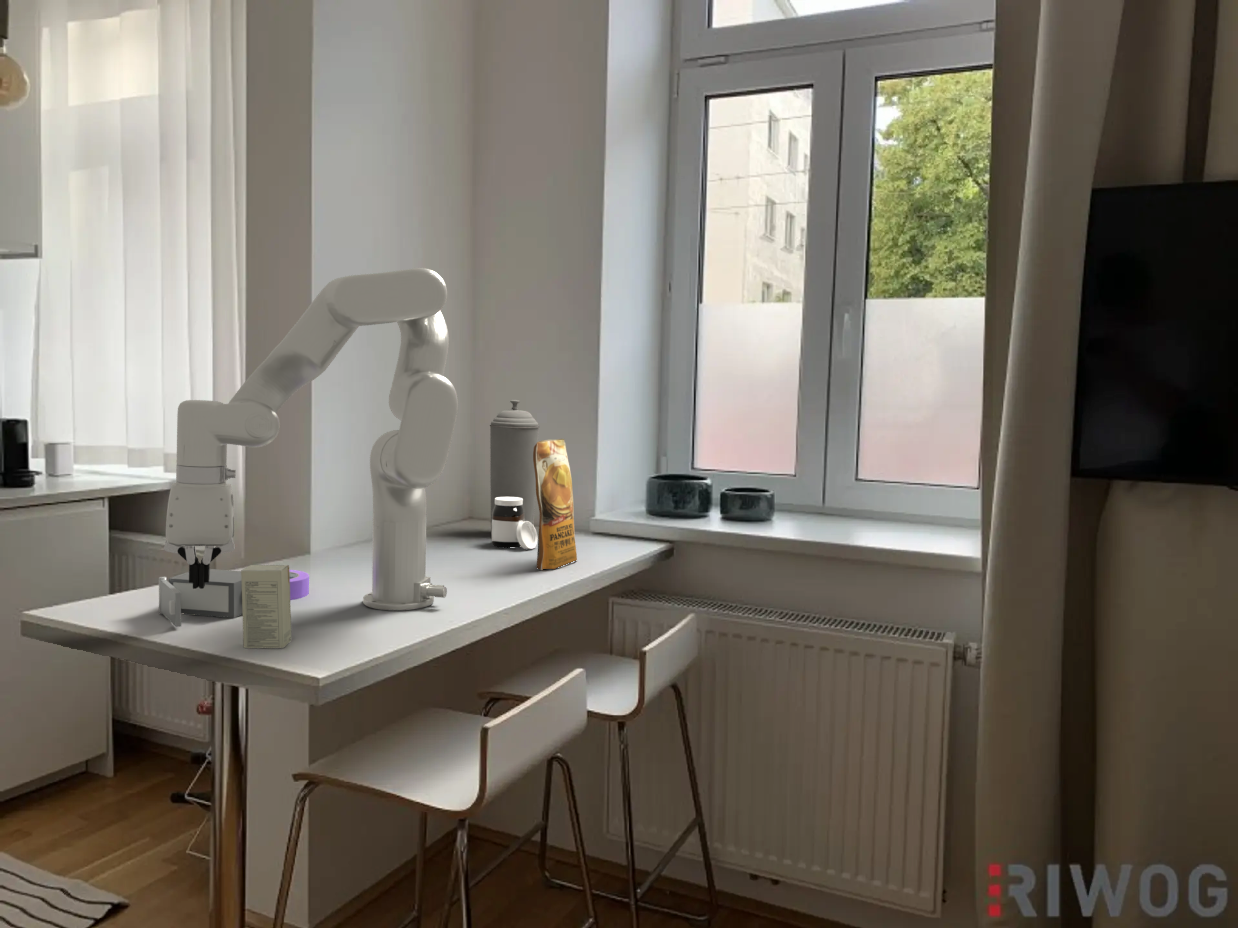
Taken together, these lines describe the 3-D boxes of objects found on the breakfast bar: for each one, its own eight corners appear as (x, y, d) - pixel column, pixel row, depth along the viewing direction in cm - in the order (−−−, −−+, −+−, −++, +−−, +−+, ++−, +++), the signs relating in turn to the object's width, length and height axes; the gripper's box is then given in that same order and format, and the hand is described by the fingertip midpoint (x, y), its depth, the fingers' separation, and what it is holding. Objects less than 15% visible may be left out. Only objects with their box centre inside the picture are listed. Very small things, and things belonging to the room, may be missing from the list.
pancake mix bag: (519, 569, 215) (522, 440, 212) (560, 555, 232) (563, 436, 229) (547, 573, 212) (550, 442, 209) (586, 559, 229) (589, 438, 227)
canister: (528, 540, 251) (531, 401, 248) (480, 537, 254) (483, 399, 250) (542, 532, 263) (545, 400, 260) (496, 529, 266) (499, 398, 263)
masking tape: (317, 589, 191) (317, 570, 191) (296, 604, 180) (296, 583, 179) (257, 587, 192) (257, 567, 191) (232, 601, 180) (232, 580, 180)
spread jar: (495, 541, 248) (496, 495, 247) (540, 543, 248) (541, 497, 247) (487, 550, 236) (488, 501, 235) (534, 552, 236) (535, 503, 235)
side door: (182, 628, 160) (182, 590, 159) (171, 629, 159) (171, 591, 158) (166, 612, 169) (165, 576, 169) (155, 613, 169) (155, 577, 168)
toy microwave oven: (268, 606, 176) (268, 569, 176) (240, 618, 167) (240, 579, 167) (199, 600, 178) (199, 564, 178) (168, 613, 169) (167, 574, 169)
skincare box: (292, 641, 155) (292, 564, 154) (283, 649, 151) (283, 570, 150) (250, 640, 155) (250, 563, 154) (240, 648, 151) (240, 569, 149)
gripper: (251, 474, 168) (248, 581, 169) (154, 472, 163) (153, 582, 165) (248, 479, 161) (245, 591, 162) (147, 477, 156) (145, 592, 158)
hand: (199, 586), depth 164 cm, fingers closed
